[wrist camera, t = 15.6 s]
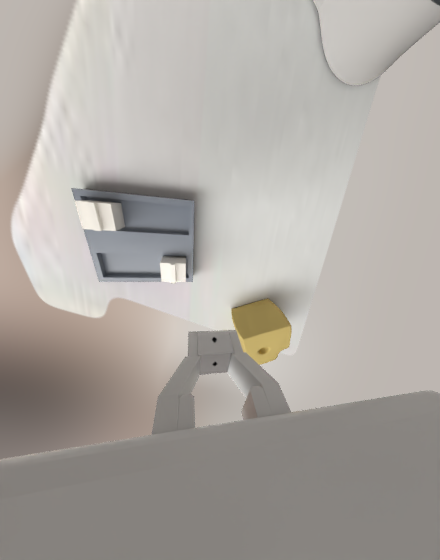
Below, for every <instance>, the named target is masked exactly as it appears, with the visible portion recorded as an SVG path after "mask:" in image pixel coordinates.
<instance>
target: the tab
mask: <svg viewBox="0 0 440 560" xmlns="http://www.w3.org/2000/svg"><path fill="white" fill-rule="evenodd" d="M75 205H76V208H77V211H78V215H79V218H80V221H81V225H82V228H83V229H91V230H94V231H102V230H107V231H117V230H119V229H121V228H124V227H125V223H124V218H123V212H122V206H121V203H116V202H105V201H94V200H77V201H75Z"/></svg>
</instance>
